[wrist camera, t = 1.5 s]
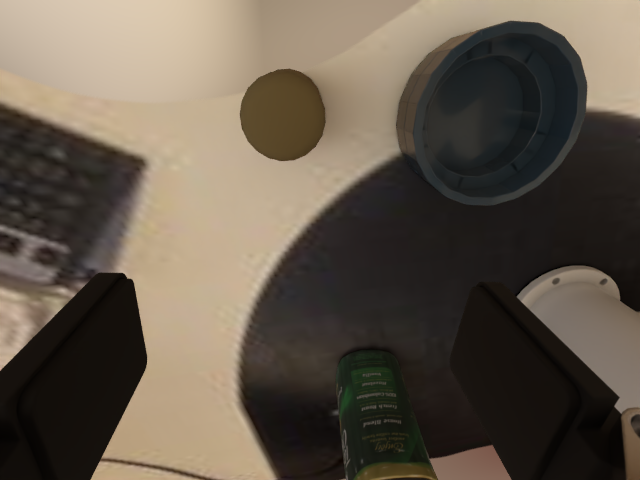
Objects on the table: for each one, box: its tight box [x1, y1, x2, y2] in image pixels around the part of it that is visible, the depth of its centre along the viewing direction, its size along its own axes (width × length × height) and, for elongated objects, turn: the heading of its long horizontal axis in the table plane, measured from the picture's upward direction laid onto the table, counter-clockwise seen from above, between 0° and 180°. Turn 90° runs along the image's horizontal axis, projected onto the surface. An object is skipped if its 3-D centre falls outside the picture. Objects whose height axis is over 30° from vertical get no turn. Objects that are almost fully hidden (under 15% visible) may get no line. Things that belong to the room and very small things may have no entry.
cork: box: [240, 69, 325, 161], centre depth 25 cm, size 6×6×11 cm
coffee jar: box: [336, 349, 438, 480], centre depth 35 cm, size 10×8×19 cm
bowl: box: [396, 21, 587, 206], centre depth 28 cm, size 13×13×6 cm
